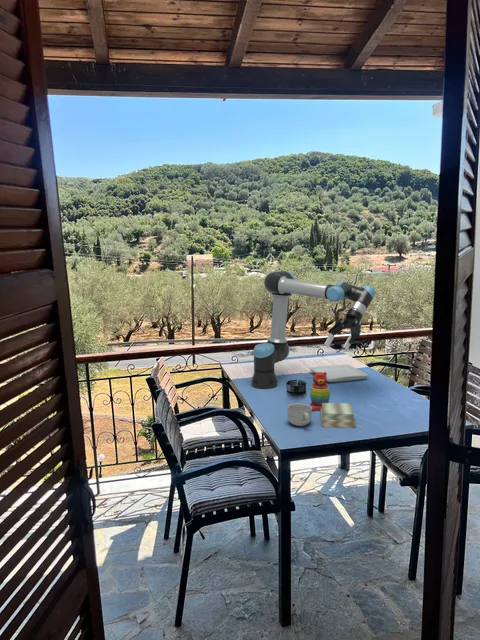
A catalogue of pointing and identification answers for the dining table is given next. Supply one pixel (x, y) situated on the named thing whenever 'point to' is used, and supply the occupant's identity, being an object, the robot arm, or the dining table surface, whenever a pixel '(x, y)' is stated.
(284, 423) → the dining table surface
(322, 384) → the stacking bear
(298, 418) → the teacup
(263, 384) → the robot arm
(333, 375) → the square plate
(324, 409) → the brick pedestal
